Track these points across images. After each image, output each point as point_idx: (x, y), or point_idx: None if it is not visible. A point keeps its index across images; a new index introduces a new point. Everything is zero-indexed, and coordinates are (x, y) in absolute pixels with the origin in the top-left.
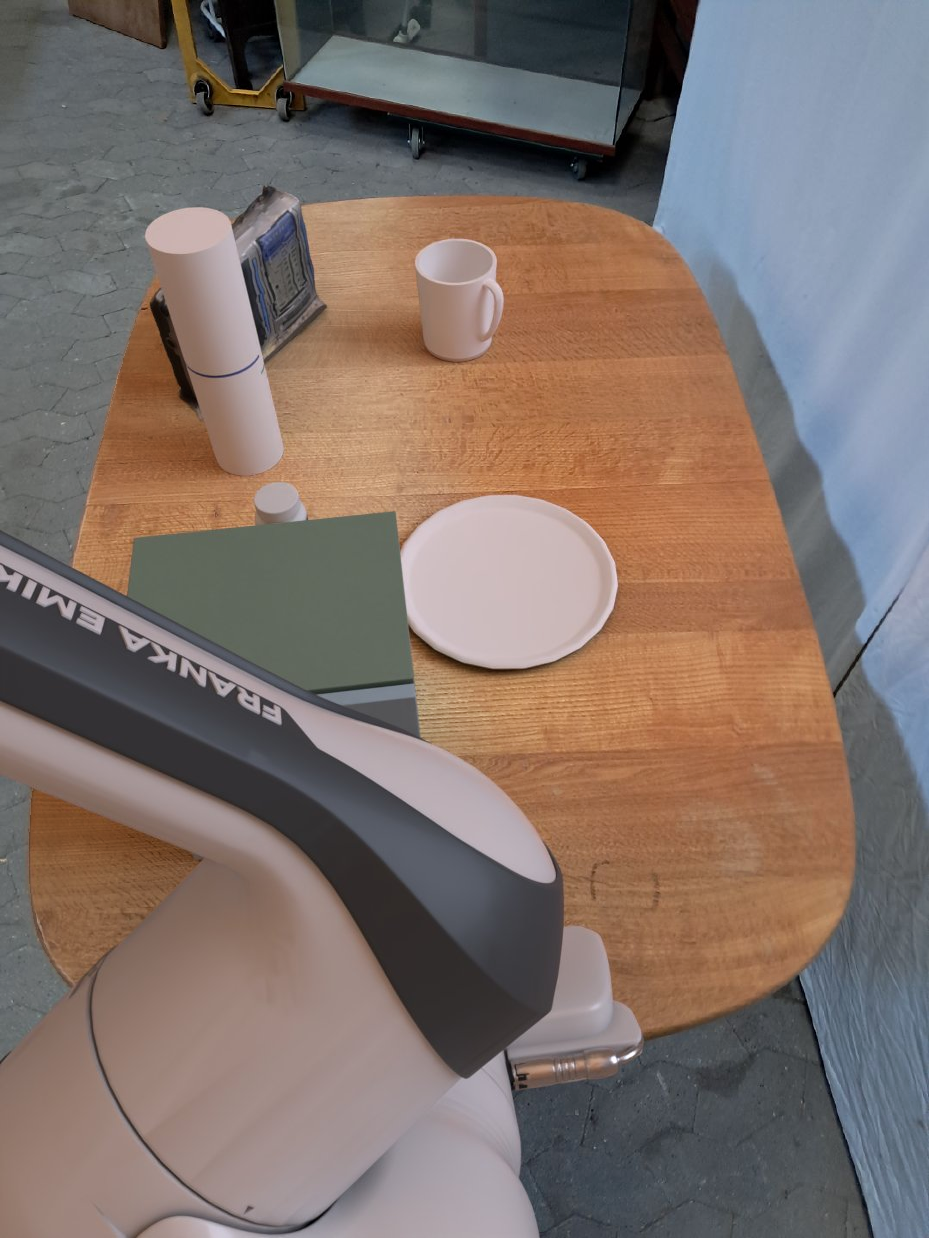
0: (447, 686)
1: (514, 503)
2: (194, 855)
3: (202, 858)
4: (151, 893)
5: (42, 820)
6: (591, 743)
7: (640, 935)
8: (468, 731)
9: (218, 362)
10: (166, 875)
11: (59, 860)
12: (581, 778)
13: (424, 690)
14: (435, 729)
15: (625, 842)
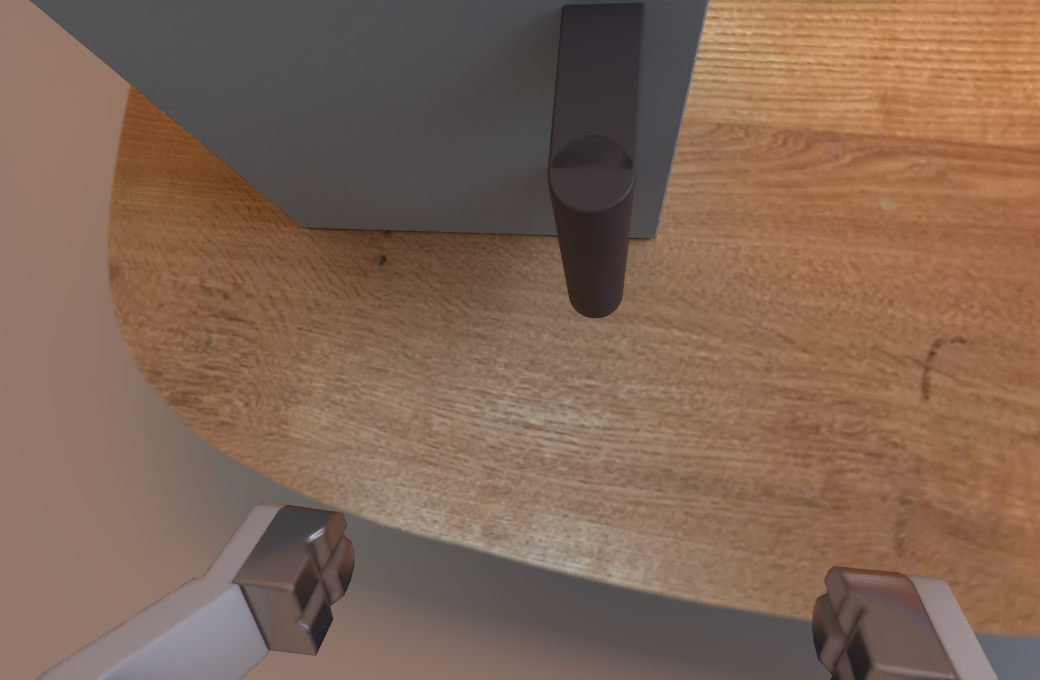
0: (720, 5)
1: None
2: (295, 220)
3: (310, 226)
4: (240, 265)
5: (121, 142)
6: (968, 129)
7: (1004, 479)
8: (744, 84)
9: None
10: (263, 243)
11: (134, 200)
12: (937, 188)
13: None
14: None
15: (1004, 312)
